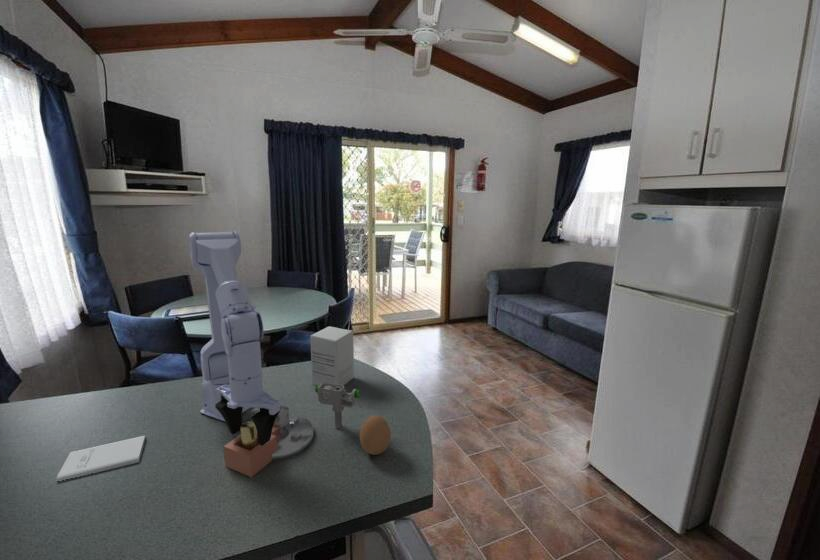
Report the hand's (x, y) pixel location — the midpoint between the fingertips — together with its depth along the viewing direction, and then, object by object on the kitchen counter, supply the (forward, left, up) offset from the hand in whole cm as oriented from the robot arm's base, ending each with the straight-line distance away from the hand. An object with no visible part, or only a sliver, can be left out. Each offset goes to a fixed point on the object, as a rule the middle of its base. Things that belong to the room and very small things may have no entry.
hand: (250, 437), depth 73 cm
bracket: (0, +2, -5) cm, 6 cm away
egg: (+21, +13, -6) cm, 25 cm away
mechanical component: (+9, +17, -6) cm, 20 cm away
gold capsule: (0, 0, -4) cm, 4 cm away
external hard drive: (-27, -12, -6) cm, 30 cm away
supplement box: (-5, +35, -6) cm, 36 cm away
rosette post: (0, +8, -5) cm, 10 cm away
